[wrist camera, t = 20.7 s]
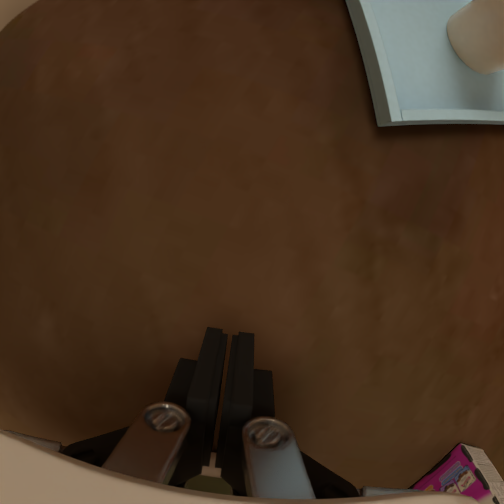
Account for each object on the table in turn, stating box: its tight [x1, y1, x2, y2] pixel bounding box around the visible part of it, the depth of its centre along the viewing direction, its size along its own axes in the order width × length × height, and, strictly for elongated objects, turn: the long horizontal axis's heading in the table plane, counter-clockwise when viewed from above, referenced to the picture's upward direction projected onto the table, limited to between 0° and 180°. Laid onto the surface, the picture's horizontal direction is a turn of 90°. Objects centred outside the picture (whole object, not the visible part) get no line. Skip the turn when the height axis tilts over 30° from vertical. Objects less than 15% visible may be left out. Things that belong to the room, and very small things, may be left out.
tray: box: [345, 0, 504, 127], centre depth 12 cm, size 16×11×2 cm, turn 100°
